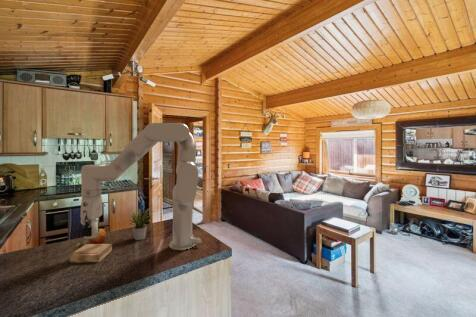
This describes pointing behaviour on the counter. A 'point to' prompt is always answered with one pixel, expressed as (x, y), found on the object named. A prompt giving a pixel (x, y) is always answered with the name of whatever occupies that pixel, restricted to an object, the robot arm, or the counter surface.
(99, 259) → the base
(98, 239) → the fruit
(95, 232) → the canister
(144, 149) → the robot arm
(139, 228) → the house plant
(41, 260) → the counter surface
